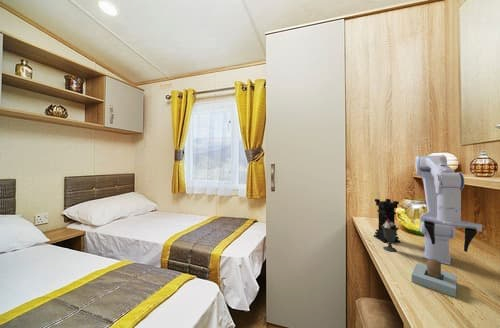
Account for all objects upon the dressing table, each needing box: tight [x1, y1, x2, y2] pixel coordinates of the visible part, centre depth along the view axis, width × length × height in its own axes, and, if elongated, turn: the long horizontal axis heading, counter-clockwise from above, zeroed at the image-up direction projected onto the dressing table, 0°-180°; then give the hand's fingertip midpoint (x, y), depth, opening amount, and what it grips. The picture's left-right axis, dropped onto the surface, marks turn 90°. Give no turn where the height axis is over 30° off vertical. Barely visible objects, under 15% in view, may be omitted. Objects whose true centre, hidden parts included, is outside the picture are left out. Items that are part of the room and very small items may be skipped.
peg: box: [426, 259, 442, 280], centre depth 64 cm, size 3×3×7 cm
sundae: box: [381, 215, 400, 253], centre depth 87 cm, size 7×7×15 cm
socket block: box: [411, 263, 458, 298], centre depth 63 cm, size 10×10×2 cm
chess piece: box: [373, 198, 401, 244], centre depth 98 cm, size 8×8×20 cm
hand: (448, 246), depth 66 cm, fingers open, 7 cm apart
